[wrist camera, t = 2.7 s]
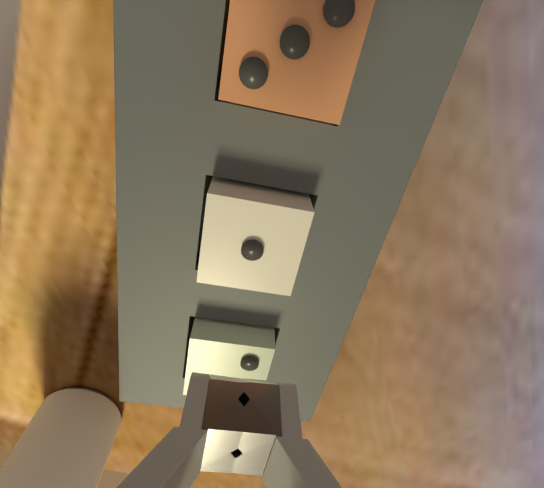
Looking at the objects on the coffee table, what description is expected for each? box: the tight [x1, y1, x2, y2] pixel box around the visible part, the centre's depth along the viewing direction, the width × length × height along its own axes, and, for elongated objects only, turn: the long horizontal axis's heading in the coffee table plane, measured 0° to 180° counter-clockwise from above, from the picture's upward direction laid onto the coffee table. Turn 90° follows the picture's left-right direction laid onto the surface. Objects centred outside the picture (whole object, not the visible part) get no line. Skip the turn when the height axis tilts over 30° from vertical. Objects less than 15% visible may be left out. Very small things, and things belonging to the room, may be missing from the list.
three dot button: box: [218, 0, 375, 125], centre depth 14 cm, size 5×5×3 cm
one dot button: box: [196, 176, 314, 296], centre depth 19 cm, size 5×5×3 cm
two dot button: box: [183, 317, 275, 395], centre depth 23 cm, size 5×5×3 cm
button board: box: [113, 0, 483, 422], centre depth 20 cm, size 14×30×3 cm, turn 169°
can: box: [0, 387, 121, 488], centre depth 25 cm, size 6×6×12 cm
